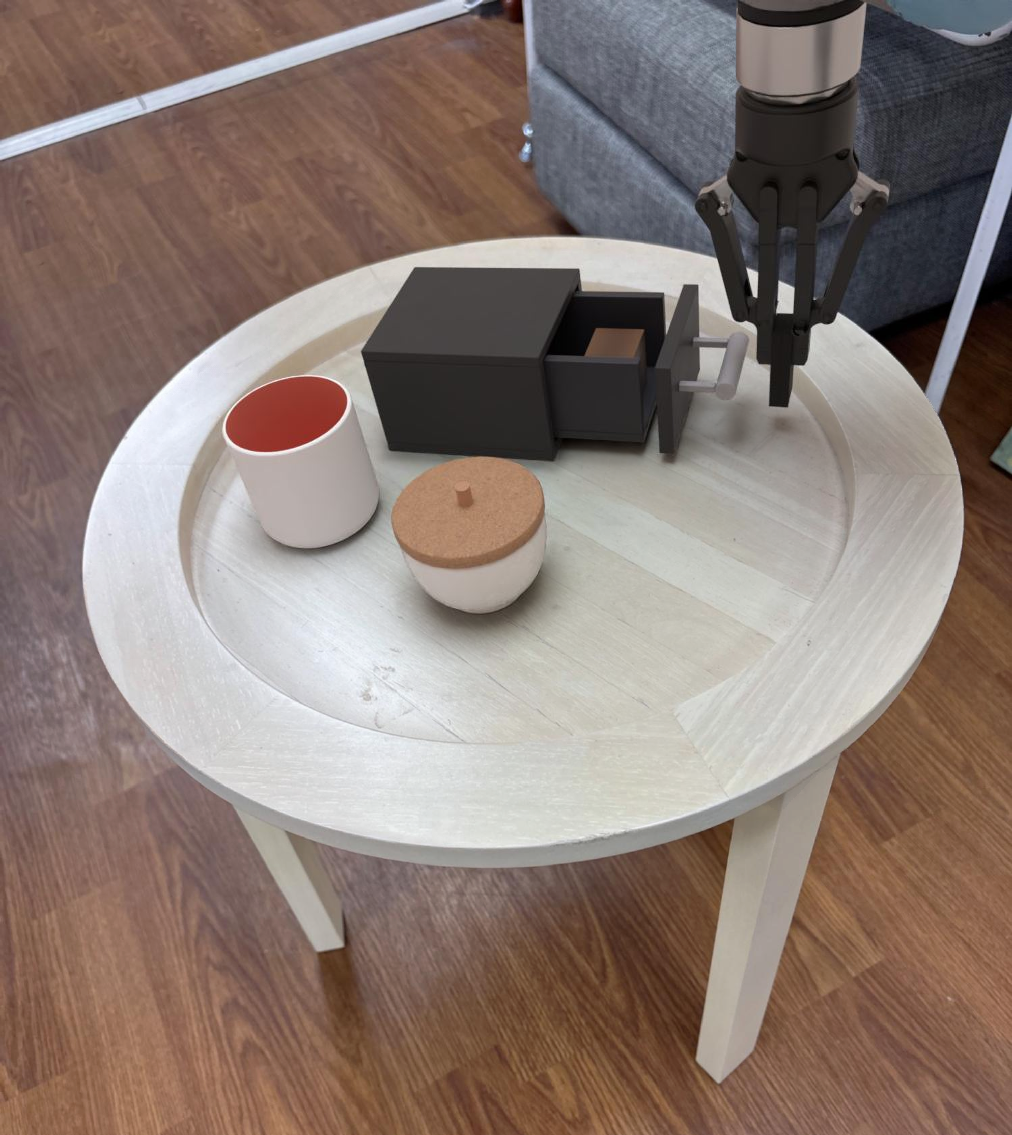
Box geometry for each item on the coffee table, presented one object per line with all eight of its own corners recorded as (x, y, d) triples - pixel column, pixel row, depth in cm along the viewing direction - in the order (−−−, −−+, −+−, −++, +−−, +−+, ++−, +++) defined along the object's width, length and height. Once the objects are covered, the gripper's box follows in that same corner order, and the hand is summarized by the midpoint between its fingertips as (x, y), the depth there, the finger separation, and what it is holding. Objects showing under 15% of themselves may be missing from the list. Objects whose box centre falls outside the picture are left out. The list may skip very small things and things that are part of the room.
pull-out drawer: (752, 371, 90) (754, 284, 84) (730, 458, 83) (731, 370, 77) (547, 363, 95) (536, 281, 89) (511, 444, 88) (496, 361, 82)
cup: (377, 548, 84) (343, 445, 76) (255, 562, 85) (210, 462, 77) (387, 468, 90) (357, 366, 83) (274, 482, 91) (234, 382, 84)
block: (647, 382, 89) (644, 328, 85) (637, 411, 87) (633, 357, 83) (601, 380, 90) (595, 327, 86) (589, 408, 88) (583, 355, 84)
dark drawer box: (590, 370, 95) (579, 267, 88) (553, 461, 87) (538, 357, 80) (436, 364, 99) (414, 266, 92) (389, 450, 92) (360, 351, 85)
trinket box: (586, 572, 78) (573, 471, 71) (484, 660, 74) (459, 562, 67) (485, 517, 84) (464, 418, 77) (385, 595, 80) (353, 499, 73)
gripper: (911, 49, 67) (871, 372, 85) (703, 59, 71) (706, 365, 88) (903, 101, 62) (862, 430, 80) (681, 108, 66) (689, 421, 84)
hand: (780, 396), depth 84 cm, fingers closed
